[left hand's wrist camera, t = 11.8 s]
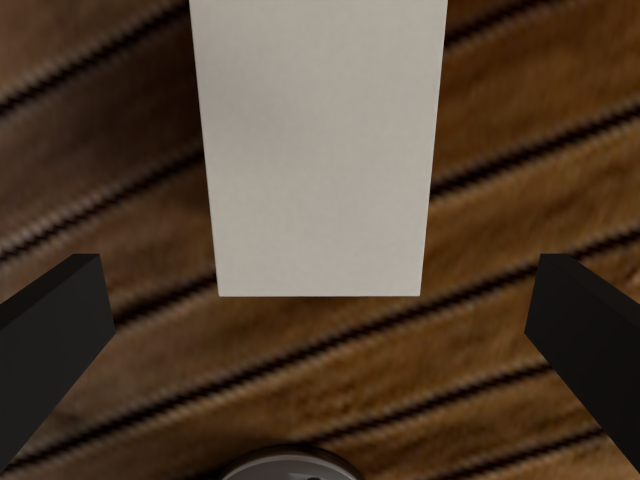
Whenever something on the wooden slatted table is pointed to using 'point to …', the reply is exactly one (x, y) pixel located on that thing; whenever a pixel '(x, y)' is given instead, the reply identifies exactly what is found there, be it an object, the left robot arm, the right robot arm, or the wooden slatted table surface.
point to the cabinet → (318, 141)
